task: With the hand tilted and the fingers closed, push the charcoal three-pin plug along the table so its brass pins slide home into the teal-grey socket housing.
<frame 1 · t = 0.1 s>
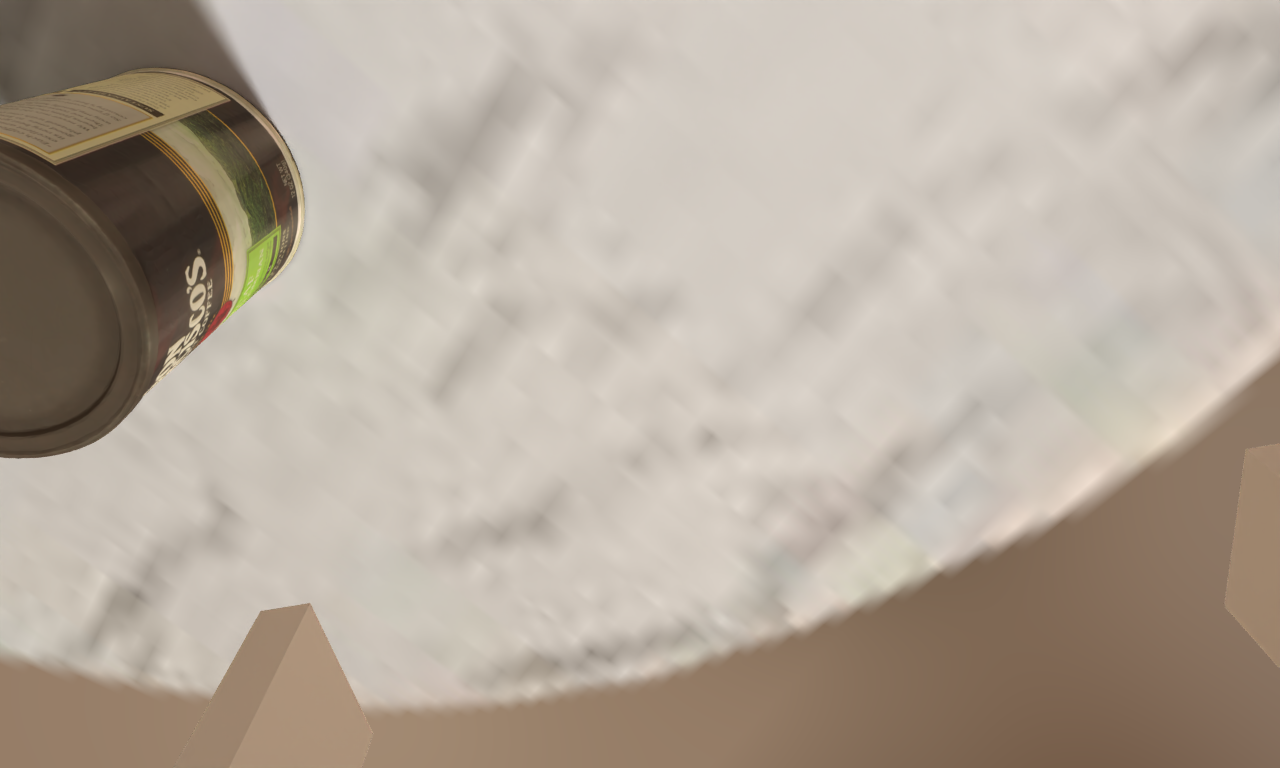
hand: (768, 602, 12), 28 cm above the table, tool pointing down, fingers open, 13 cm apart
coffee can: (189, 187, 38), on the table
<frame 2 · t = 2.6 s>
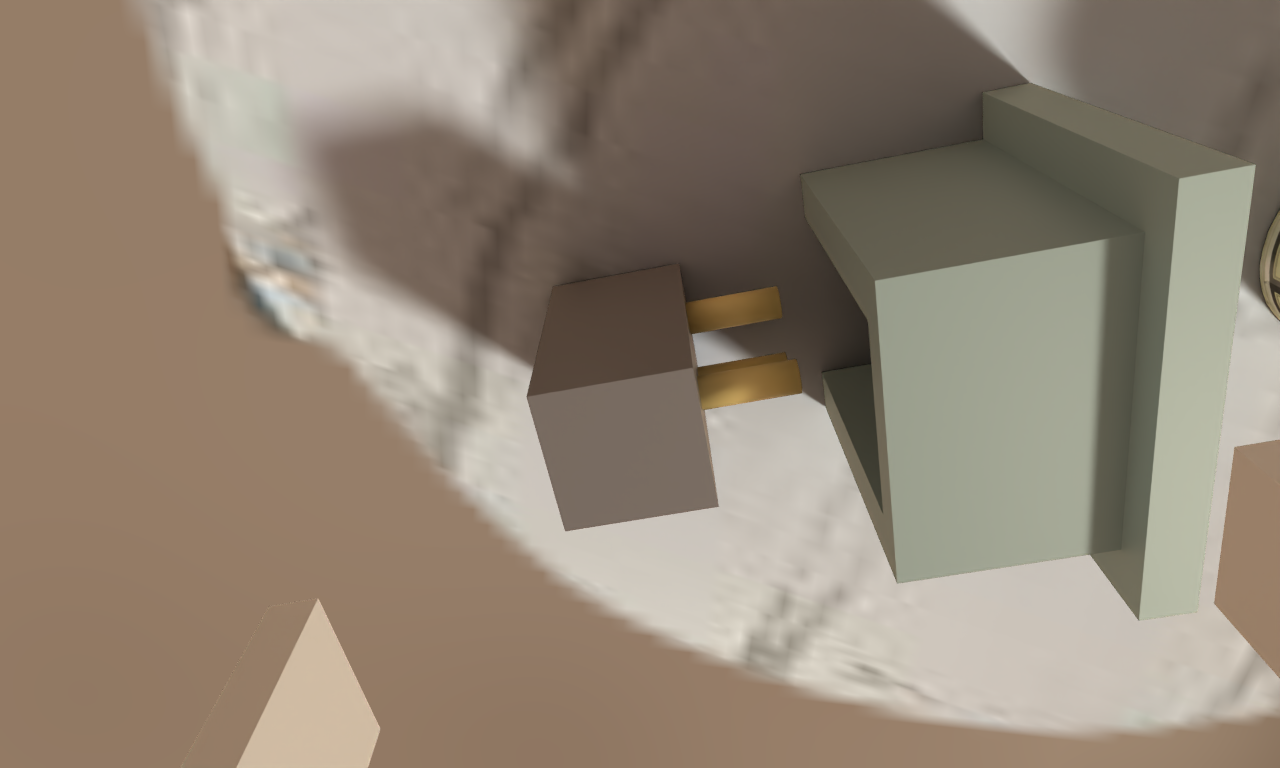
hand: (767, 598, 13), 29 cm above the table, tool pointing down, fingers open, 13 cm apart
socket: (919, 279, 41), on the table
plug: (673, 377, 37), point 6 cm above the table, slide at 0.0 cm
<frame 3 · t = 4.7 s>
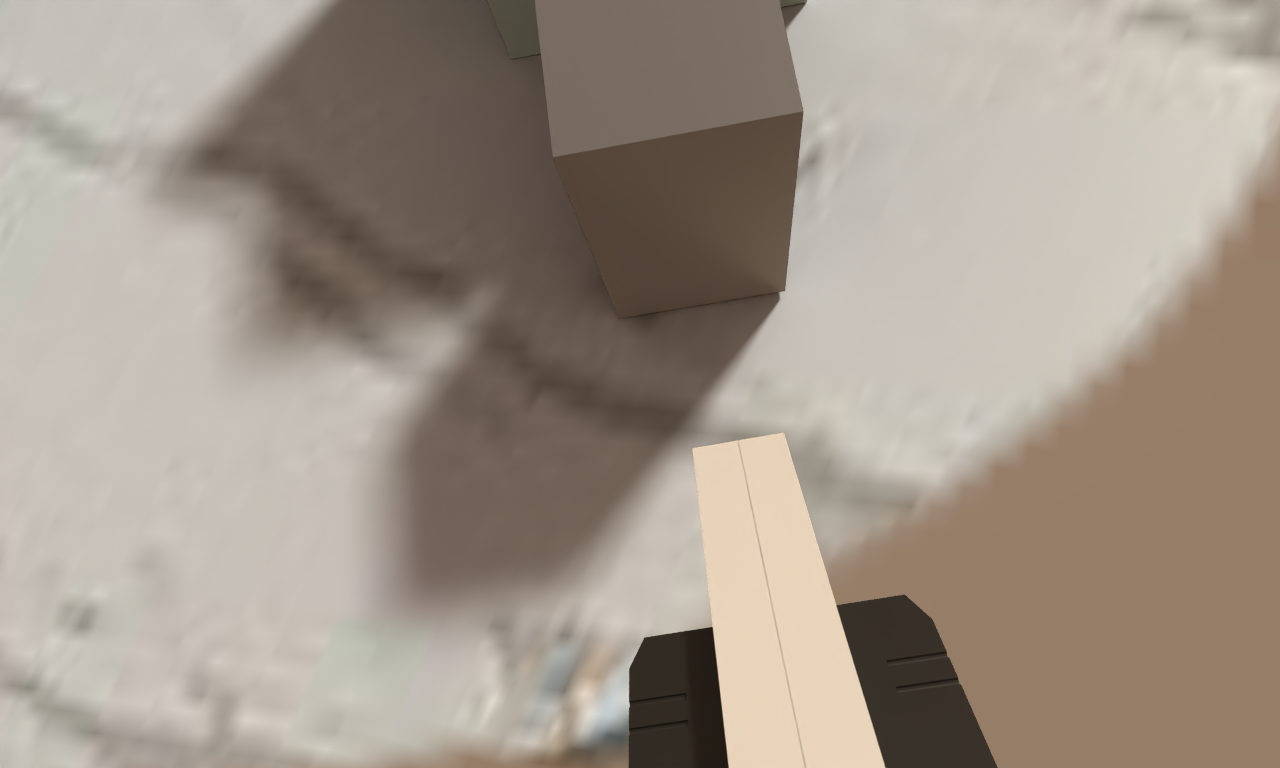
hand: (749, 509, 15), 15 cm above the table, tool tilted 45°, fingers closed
plug: (668, 94, 27), point 6 cm above the table, slide at 0.0 cm
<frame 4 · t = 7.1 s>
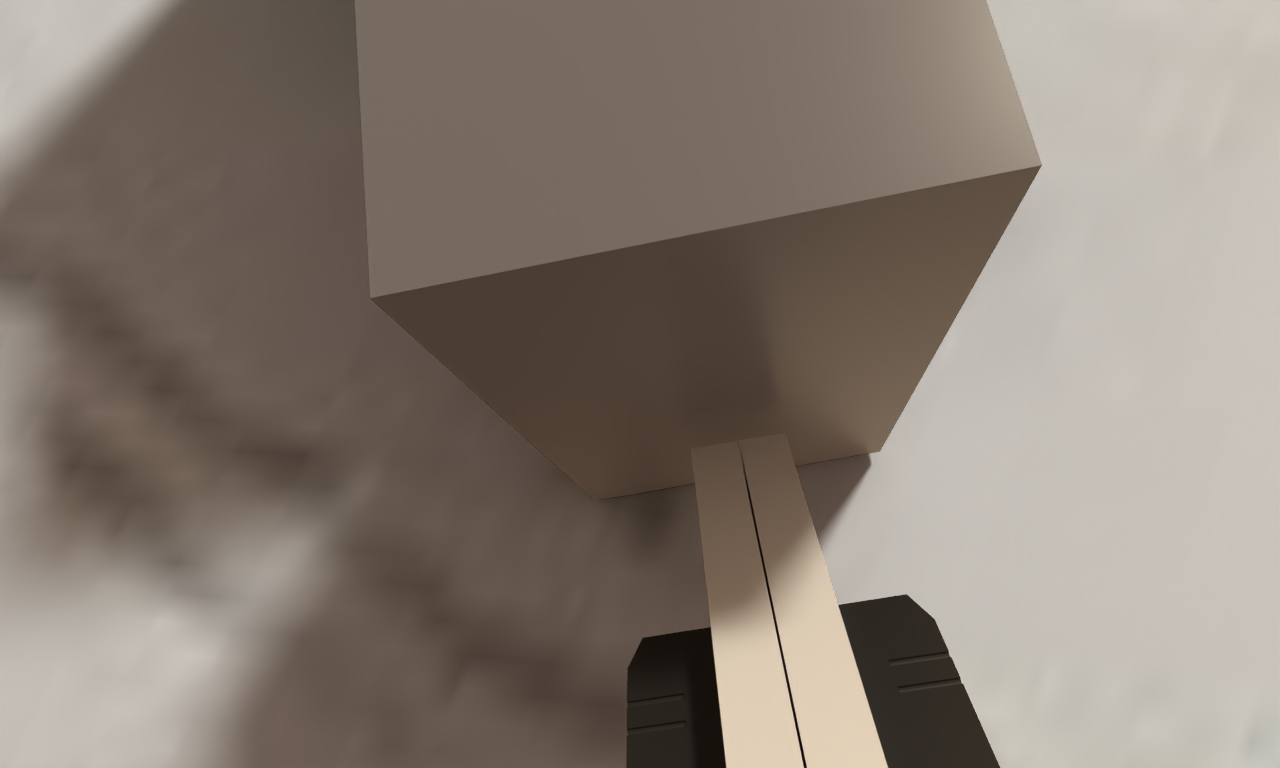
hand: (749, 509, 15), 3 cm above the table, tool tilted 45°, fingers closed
plug: (670, 119, 14), point 6 cm above the table, slide at 0.8 cm, touching gripper
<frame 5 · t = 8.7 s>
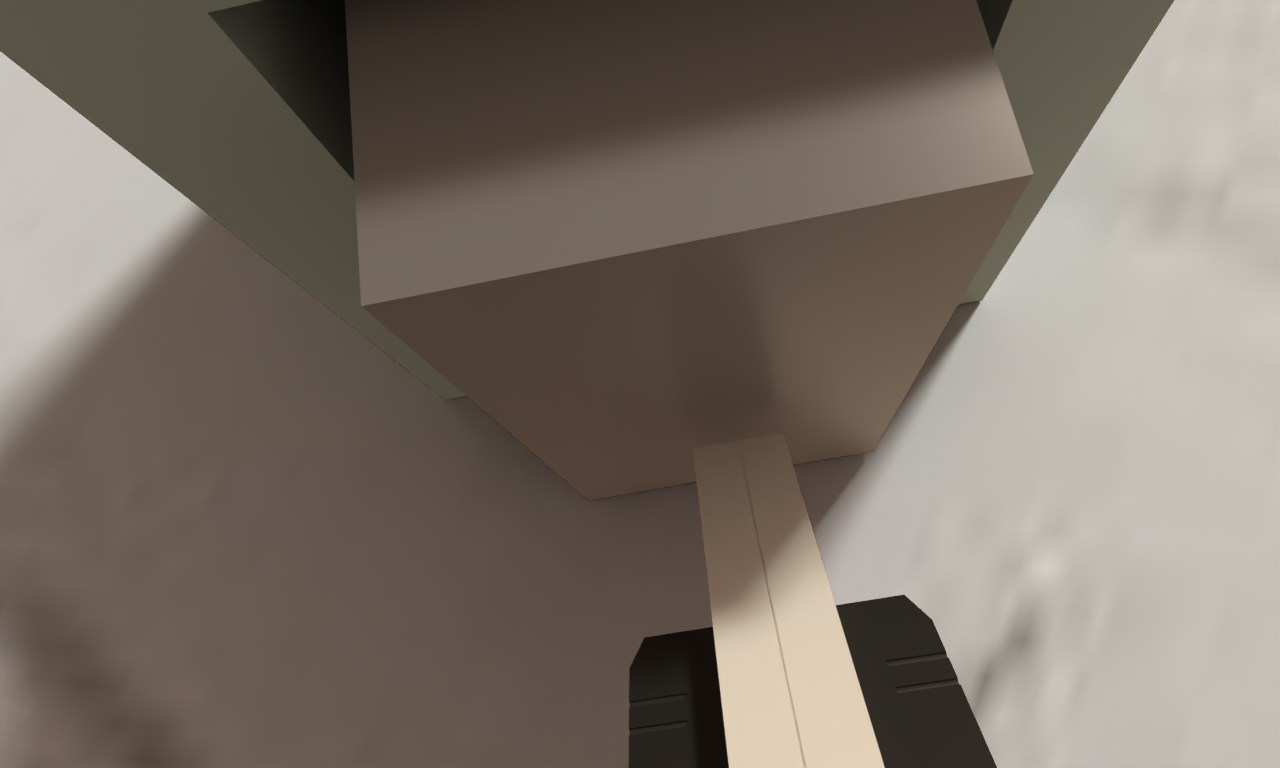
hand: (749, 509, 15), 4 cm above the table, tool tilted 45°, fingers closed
socket: (670, 156, 21), on the table
plug: (664, 120, 14), point 6 cm above the table, slide at 9.1 cm, touching gripper
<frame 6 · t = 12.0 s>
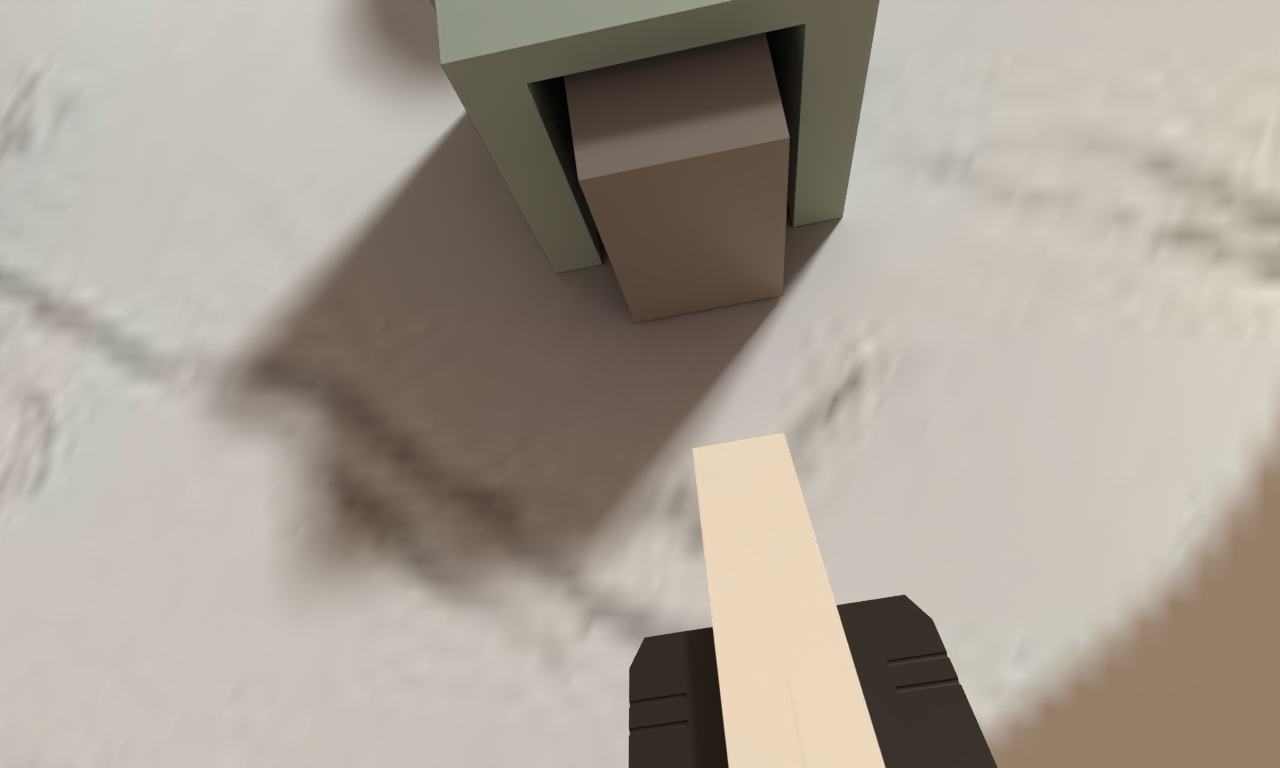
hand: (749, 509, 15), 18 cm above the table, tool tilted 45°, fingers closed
socket: (677, 142, 37), on the table
plug: (675, 123, 31), point 6 cm above the table, slide at 9.0 cm
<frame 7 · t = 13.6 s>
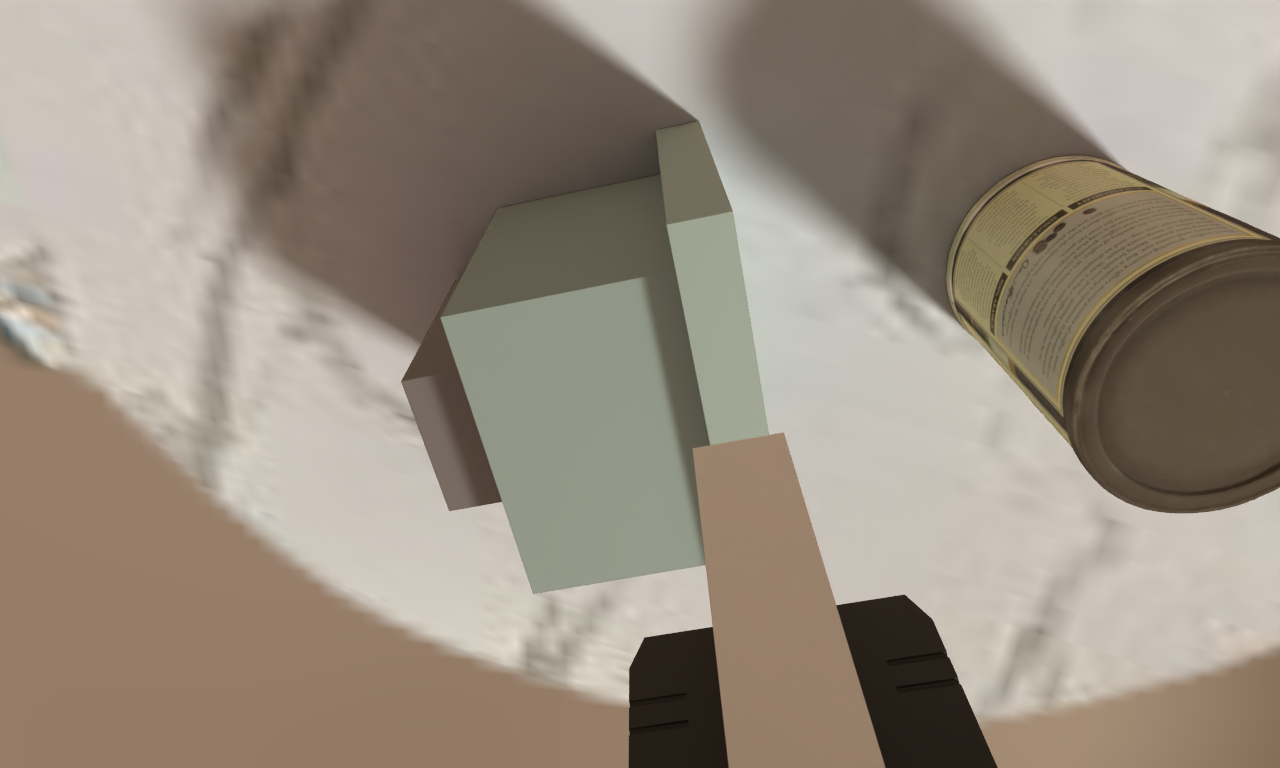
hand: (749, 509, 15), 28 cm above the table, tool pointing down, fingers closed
socket: (627, 304, 43), on the table
coffee can: (1048, 257, 42), on the table
plug: (561, 364, 38), point 6 cm above the table, slide at 9.0 cm
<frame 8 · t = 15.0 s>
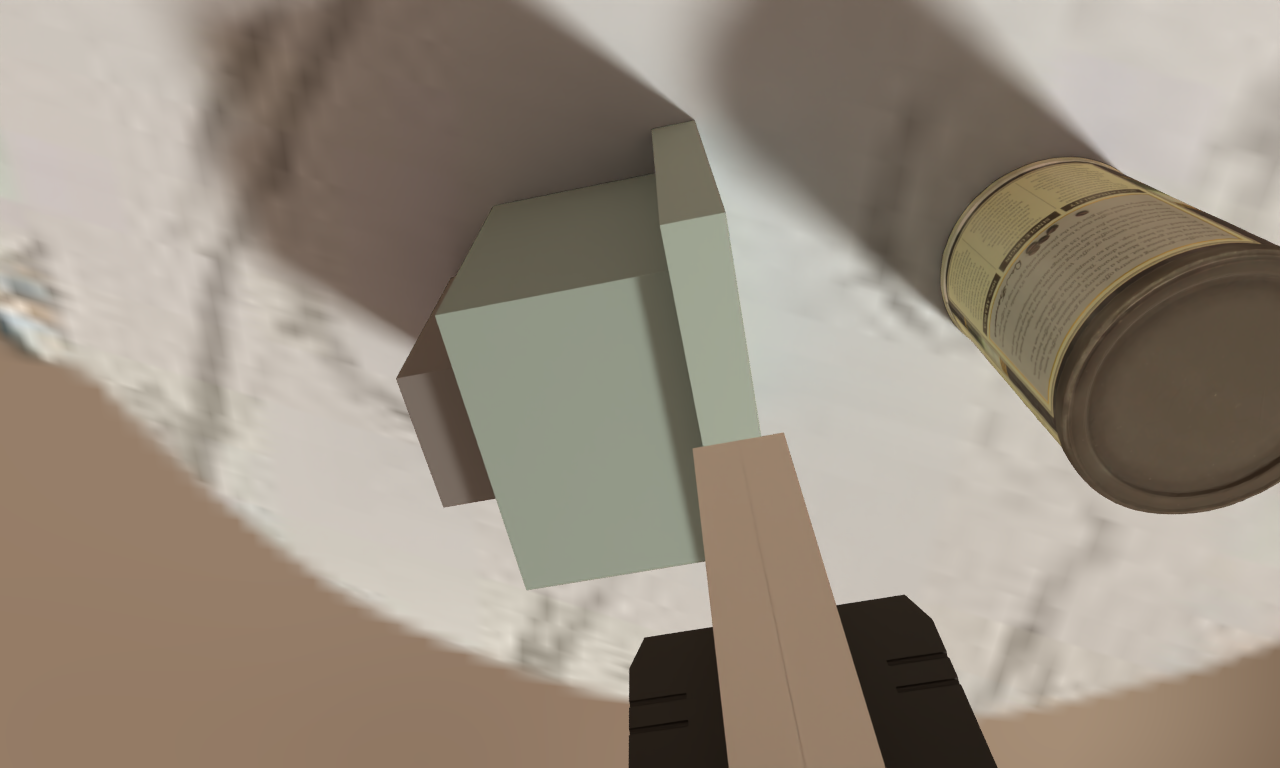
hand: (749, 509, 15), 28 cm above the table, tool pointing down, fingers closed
socket: (623, 302, 43), on the table
coffee can: (1041, 258, 43), on the table
plug: (556, 361, 38), point 6 cm above the table, slide at 9.0 cm
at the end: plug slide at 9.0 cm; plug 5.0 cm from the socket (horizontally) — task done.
